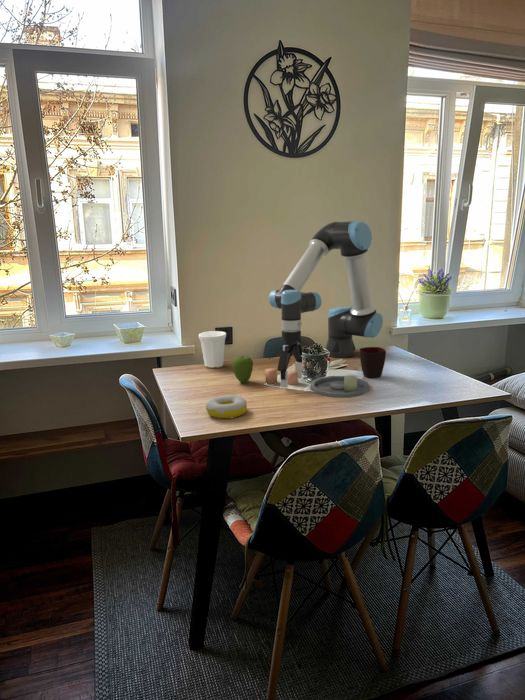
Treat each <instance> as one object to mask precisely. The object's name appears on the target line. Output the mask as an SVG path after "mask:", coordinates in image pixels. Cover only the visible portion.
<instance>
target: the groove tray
mask: <svg viewBox="0 0 525 700" xmlns="http://www.w3.org/2000/svg"><path fill="white" fill-rule="evenodd" d="M346 376H347V375H329V376H323V377H322V378H321V377H318V378H316V379H314V380H312V381H310V384H309V387H310V388H309V389H310V390H311V391H312V392H314V393H315V394H317V395H320V396H326V397H331V398H332V397H333V398H351V397H356V396H361V395H364V394H366V393H367V392H368V391H369V390H370V389H369V382H367V381H365V380H364V379H361V378H359V377H357V391H353V392H347V393H345V392H344V377H346Z"/></svg>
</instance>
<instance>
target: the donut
mask: <svg viewBox="0 0 525 700" xmlns="http://www.w3.org/2000/svg"><path fill="white" fill-rule="evenodd" d="M247 409H248V407H247V401H246V399H245V398H244V397H242V396H241V395H237V394H230V395H229V394H228V395H221V396H216V397H215V396H214V397H213V398H211V399H209V400H207V402H206V404H205V410H206V412H207V413H208V414H209V416H211V417H213V416H214V417H213V418H216V417H219V418H218V419H222V418H230V419H232V418H231V417H236V416H239V417H241V416H242V414H243V415H244V414H245V413H246V412H247ZM240 415H241V416H240ZM236 418H237V417H236Z"/></svg>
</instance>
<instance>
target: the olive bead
mask: <svg viewBox="0 0 525 700" xmlns="http://www.w3.org/2000/svg"><path fill="white" fill-rule="evenodd" d="M345 376H346V377H344V392H345V393H347V392H353V391H357V378H358V377H357V376H354V375H345Z"/></svg>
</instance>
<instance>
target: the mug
mask: <svg viewBox="0 0 525 700" xmlns="http://www.w3.org/2000/svg"><path fill="white" fill-rule="evenodd" d="M386 354H387V350H386V349H384V348H382V347H379V346H371V347H370V346H368V347H361V348H359V360H360V367H361V371H362V374H363V377H365V378H366V379H378V378H381V377H382V375H383V371H384V367H385V364H386V363H385V362H386V357H387V355H386Z"/></svg>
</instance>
